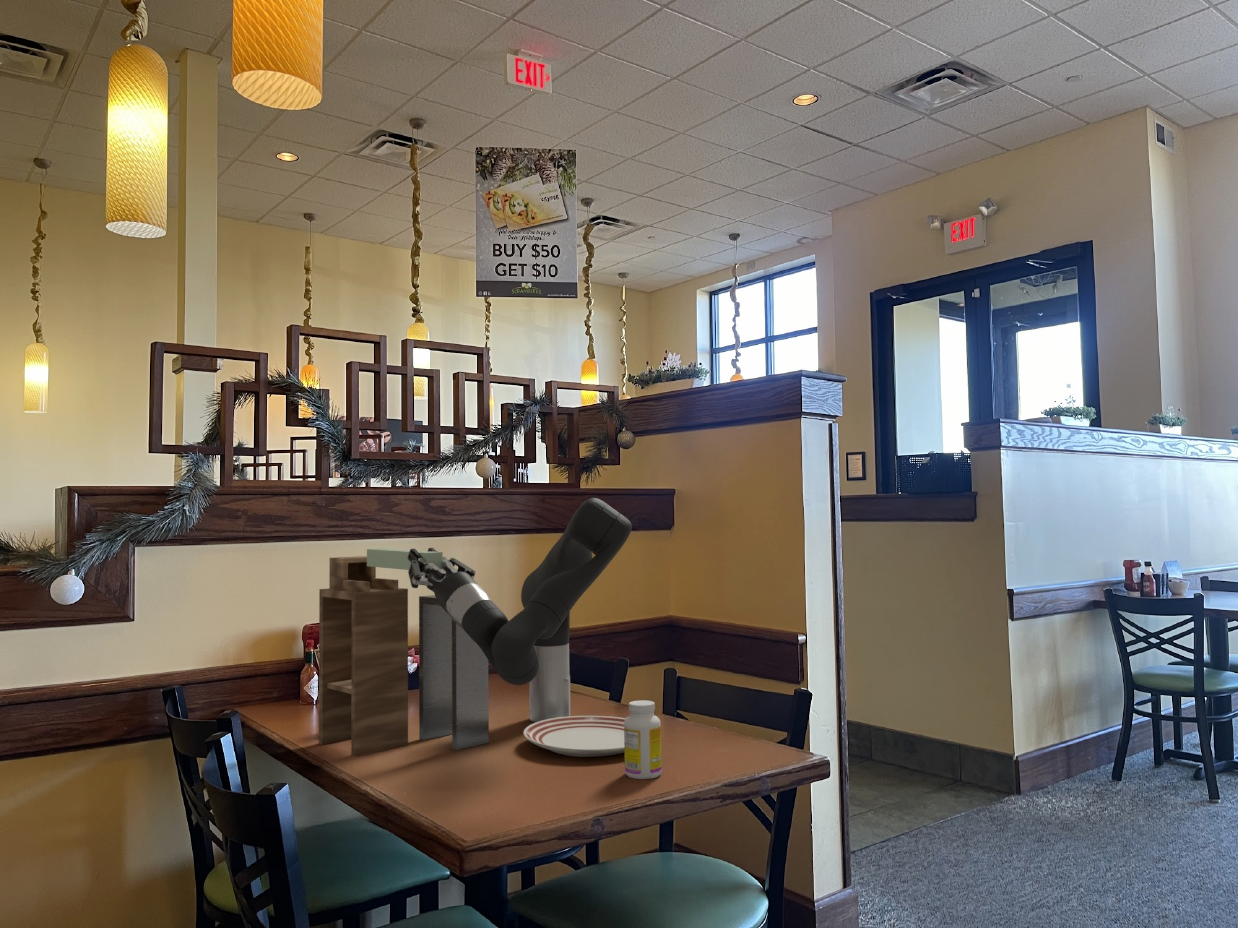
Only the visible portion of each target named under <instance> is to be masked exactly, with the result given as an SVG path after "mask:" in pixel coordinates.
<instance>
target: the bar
mask: <svg viewBox="0 0 1238 928" xmlns="http://www.w3.org/2000/svg"><path fill="white" fill-rule="evenodd" d="M409 551H410V549H397V548H384V547H383V548H367V549H366V556H367V566H369V567H376V568H383V569H394V570H405V571H409V569H410V566H411V562H410V561H409V560H408V555H409ZM417 551H418V553H419V554H420V555H421V556H422V557H423V559H424V560H426V561H427V562H428V563H431V562H432V563H433V564H435V565H436V566H437V567H439V568H442V567H443V564H442V560H443V557H444V556H443V551H438V552H431V551H428V550H417ZM422 569H423V570H424V566H423V568H422Z"/></svg>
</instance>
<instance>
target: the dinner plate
mask: <svg viewBox="0 0 1238 928" xmlns="http://www.w3.org/2000/svg"><path fill="white" fill-rule="evenodd" d="M626 718H627V717H619V716H611V715H610V716H607V715H570V716H568V717H558V718H551V719H546V720H542V721H539V722H533V723H531V724H529V725H528V726H526V727H525V728H524V729H523V732H522V734H523V736H524V738H525V739H527V740H528V741H529V742H530V743H532V744H533V745H535V746H538V747H540V748H543V749H545V750H547V751H548V750H549V751H551V752H553V753H556V754H559V755H564V756H568V757H569V756H570V757H579V758H580V757H583V758H585V757H588V758H590V757H591V758H592V757H607V756H613V755H618V754H623V753H625V749H624V721H625V719H626Z"/></svg>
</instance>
